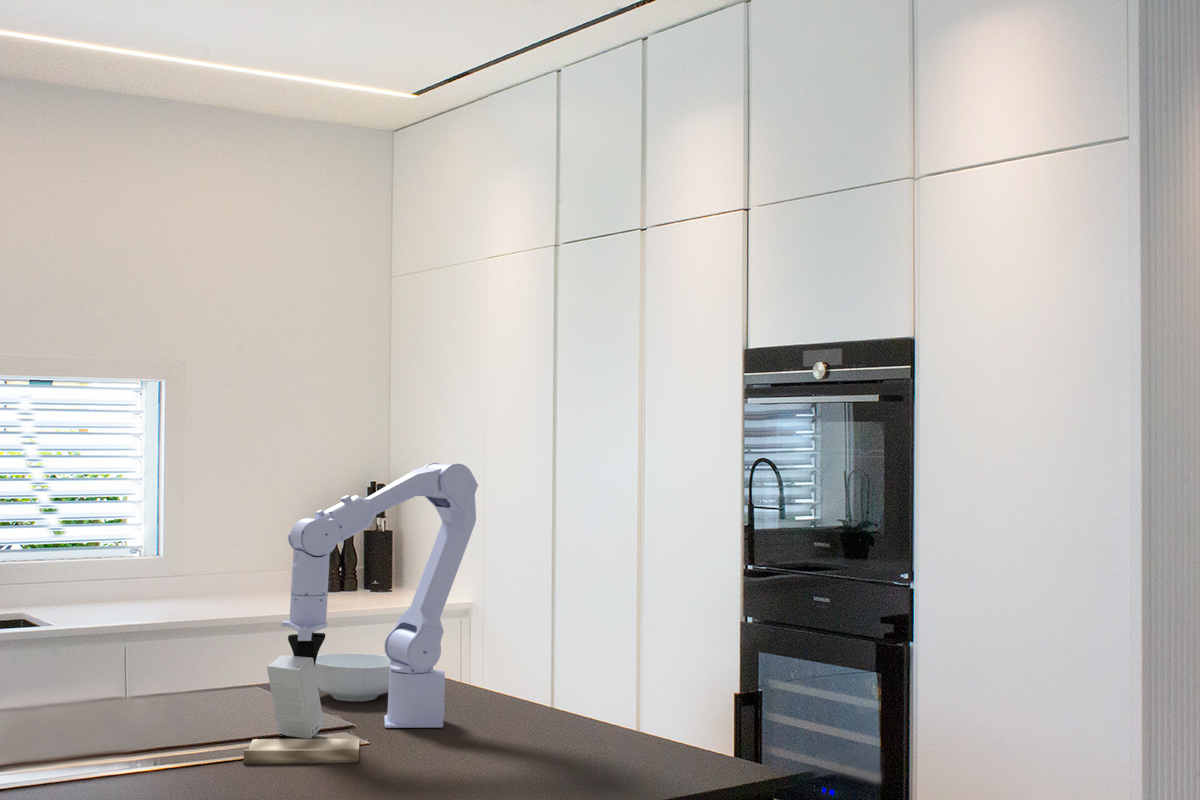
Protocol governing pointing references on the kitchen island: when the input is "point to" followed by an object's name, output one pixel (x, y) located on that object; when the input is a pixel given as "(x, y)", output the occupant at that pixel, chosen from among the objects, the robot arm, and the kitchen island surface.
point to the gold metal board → (302, 751)
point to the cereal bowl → (353, 675)
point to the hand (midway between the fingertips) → (304, 680)
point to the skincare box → (295, 696)
